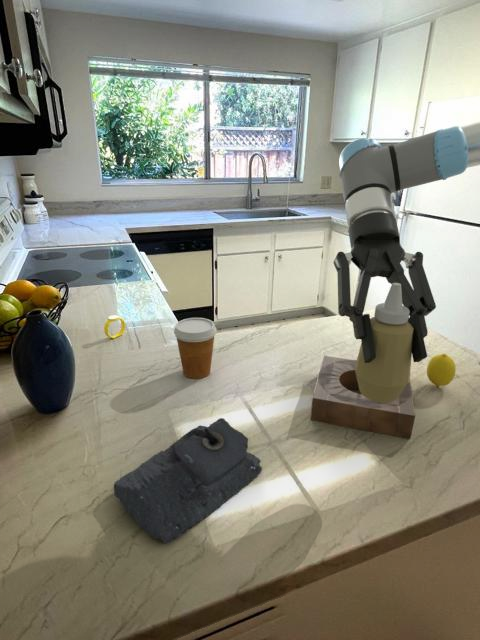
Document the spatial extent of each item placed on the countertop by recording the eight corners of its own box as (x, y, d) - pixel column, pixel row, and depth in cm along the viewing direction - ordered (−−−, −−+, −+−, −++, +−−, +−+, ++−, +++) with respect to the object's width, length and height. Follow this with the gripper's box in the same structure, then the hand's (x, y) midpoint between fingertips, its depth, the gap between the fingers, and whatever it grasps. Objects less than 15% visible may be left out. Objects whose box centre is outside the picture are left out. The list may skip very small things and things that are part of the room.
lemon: (446, 396, 85) (454, 362, 82) (420, 386, 89) (426, 354, 86) (454, 385, 89) (462, 353, 86) (428, 377, 93) (435, 345, 90)
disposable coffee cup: (177, 384, 89) (174, 335, 84) (175, 364, 97) (172, 318, 93) (220, 380, 91) (219, 332, 86) (214, 360, 99) (213, 315, 95)
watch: (121, 331, 115) (119, 312, 112) (128, 334, 113) (125, 314, 111) (104, 338, 110) (101, 318, 108) (110, 341, 109) (107, 321, 106)
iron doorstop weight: (100, 491, 61) (96, 466, 59) (208, 425, 76) (207, 404, 74) (161, 555, 51) (158, 528, 49) (271, 466, 66) (272, 442, 64)
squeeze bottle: (375, 413, 58) (395, 296, 51) (341, 385, 65) (354, 279, 58) (417, 401, 61) (441, 289, 54) (380, 375, 68) (397, 273, 61)
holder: (405, 387, 88) (408, 367, 86) (411, 439, 72) (416, 416, 70) (321, 374, 93) (323, 355, 92) (309, 420, 77) (311, 398, 75)
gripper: (419, 237, 69) (449, 366, 61) (308, 237, 69) (321, 367, 60) (441, 209, 63) (477, 351, 54) (317, 209, 62) (333, 352, 53)
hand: (395, 359), depth 57 cm, fingers closed on squeeze bottle, 6 cm apart
